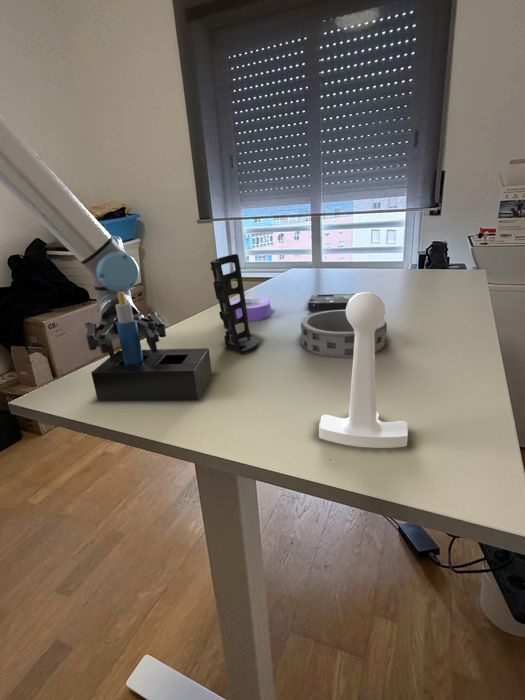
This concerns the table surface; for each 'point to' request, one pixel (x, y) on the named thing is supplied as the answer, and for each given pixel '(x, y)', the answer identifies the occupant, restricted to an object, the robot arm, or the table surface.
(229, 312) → the holder
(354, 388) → the joystick
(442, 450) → the table surface
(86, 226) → the robot arm
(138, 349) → the soldering iron
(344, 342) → the ring
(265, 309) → the tape roll
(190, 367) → the two-slot black box
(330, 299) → the disk drive
